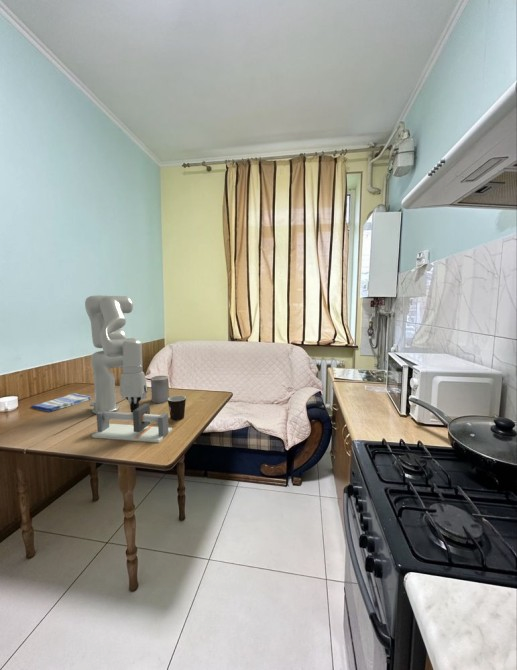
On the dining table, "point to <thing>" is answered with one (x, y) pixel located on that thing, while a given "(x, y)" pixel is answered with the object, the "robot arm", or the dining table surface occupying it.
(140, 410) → the collar
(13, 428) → the dining table surface
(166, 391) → the pillar candle
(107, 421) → the pipe rig
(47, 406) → the dish towel
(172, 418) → the coffee mug
